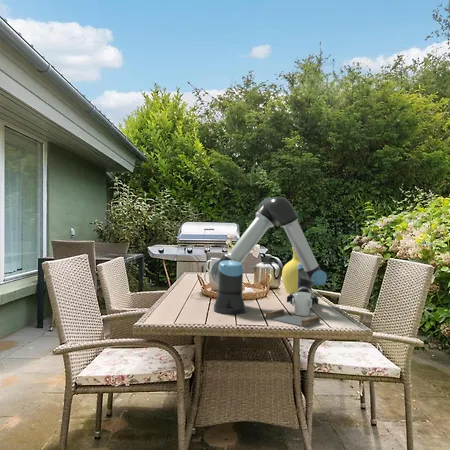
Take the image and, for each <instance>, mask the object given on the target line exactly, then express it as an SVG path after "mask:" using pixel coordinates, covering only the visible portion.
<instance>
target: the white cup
mask: <svg viewBox="0 0 450 450" xmlns="http://www.w3.org/2000/svg"><path fill="white" fill-rule="evenodd" d="M293 296H294V306H293V307H294V315H295V316H300V317H307V316H309V315H310V309H311V307H310V300H311V296H312V294H311V293H307V292H294V294H293Z"/></svg>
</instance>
